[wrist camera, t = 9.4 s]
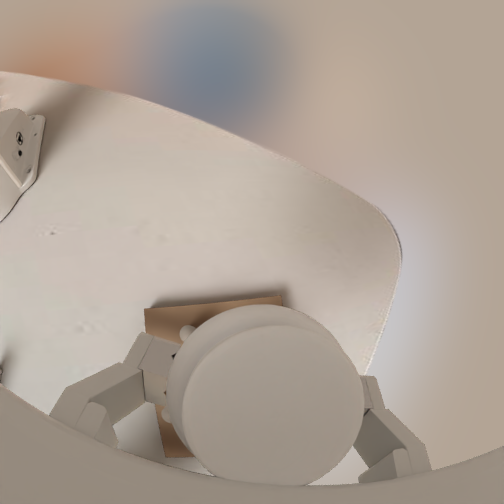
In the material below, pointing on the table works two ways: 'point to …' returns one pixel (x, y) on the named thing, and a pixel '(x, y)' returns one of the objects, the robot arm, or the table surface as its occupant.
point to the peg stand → (178, 330)
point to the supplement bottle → (265, 396)
